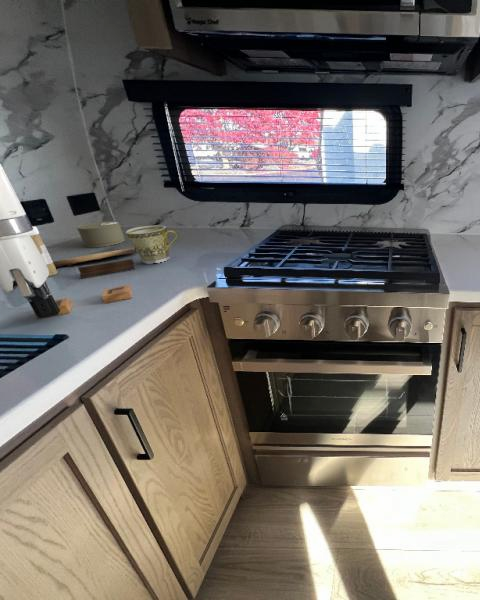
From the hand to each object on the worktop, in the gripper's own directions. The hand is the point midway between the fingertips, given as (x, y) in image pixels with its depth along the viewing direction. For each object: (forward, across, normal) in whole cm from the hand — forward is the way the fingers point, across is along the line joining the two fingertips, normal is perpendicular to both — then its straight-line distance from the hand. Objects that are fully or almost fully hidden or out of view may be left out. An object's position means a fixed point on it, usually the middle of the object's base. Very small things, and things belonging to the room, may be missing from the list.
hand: (49, 315), depth 69 cm
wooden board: (+1, -47, +3) cm, 47 cm away
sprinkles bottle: (+1, -37, -6) cm, 37 cm away
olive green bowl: (+1, -69, +5) cm, 69 cm away
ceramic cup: (+1, -32, +21) cm, 38 cm away
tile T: (+1, -5, 0) cm, 5 cm away
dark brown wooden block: (+1, -29, +8) cm, 30 cm away
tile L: (+1, -6, +11) cm, 12 cm away
